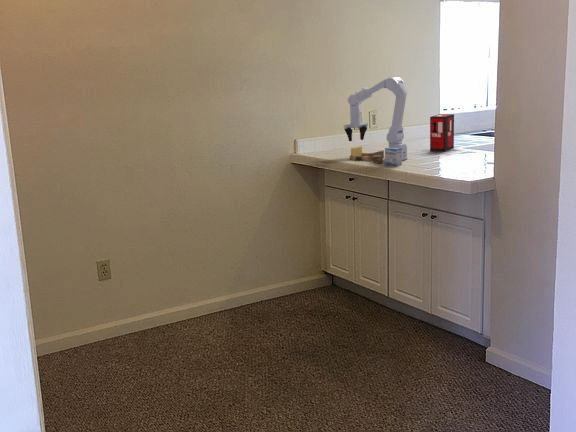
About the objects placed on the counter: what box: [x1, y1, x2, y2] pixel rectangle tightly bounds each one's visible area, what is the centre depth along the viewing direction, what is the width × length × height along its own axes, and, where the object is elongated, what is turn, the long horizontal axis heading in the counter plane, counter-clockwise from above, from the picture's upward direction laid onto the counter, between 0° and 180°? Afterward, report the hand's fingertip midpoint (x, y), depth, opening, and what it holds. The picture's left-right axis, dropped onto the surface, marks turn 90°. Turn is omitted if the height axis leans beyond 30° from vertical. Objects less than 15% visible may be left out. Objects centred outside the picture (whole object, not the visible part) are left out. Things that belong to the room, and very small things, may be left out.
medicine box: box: [384, 147, 403, 167], centre depth 332 cm, size 8×4×9 cm, turn 44°
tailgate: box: [350, 146, 363, 156], centre depth 356 cm, size 1×10×6 cm, turn 141°
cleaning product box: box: [429, 113, 455, 153], centre depth 377 cm, size 16×9×20 cm, turn 148°
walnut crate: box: [372, 155, 384, 165], centre depth 340 cm, size 4×4×4 cm
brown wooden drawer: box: [349, 149, 385, 162], centre depth 352 cm, size 15×14×5 cm
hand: (356, 140), depth 361 cm, fingers open, 7 cm apart
